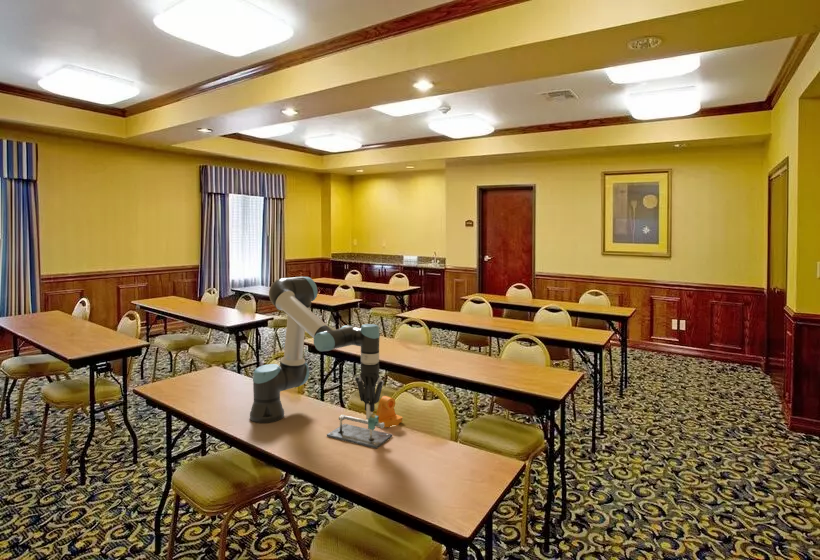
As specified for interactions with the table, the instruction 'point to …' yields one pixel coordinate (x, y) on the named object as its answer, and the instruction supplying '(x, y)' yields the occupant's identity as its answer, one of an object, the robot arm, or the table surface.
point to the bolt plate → (360, 436)
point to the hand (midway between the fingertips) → (369, 418)
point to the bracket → (387, 412)
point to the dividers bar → (357, 421)
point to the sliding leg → (372, 423)
